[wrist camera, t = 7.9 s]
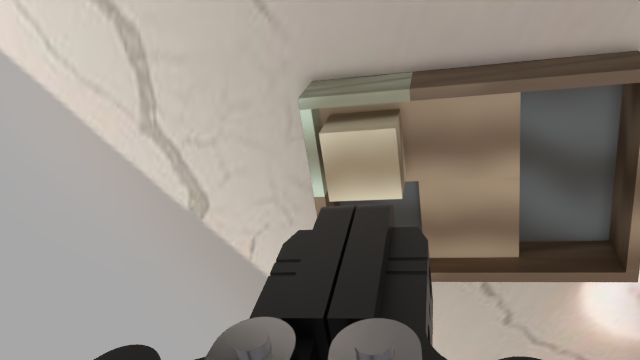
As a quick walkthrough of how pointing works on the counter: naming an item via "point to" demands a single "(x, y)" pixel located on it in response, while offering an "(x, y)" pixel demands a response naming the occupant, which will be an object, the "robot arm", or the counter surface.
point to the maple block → (363, 155)
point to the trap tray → (508, 164)
